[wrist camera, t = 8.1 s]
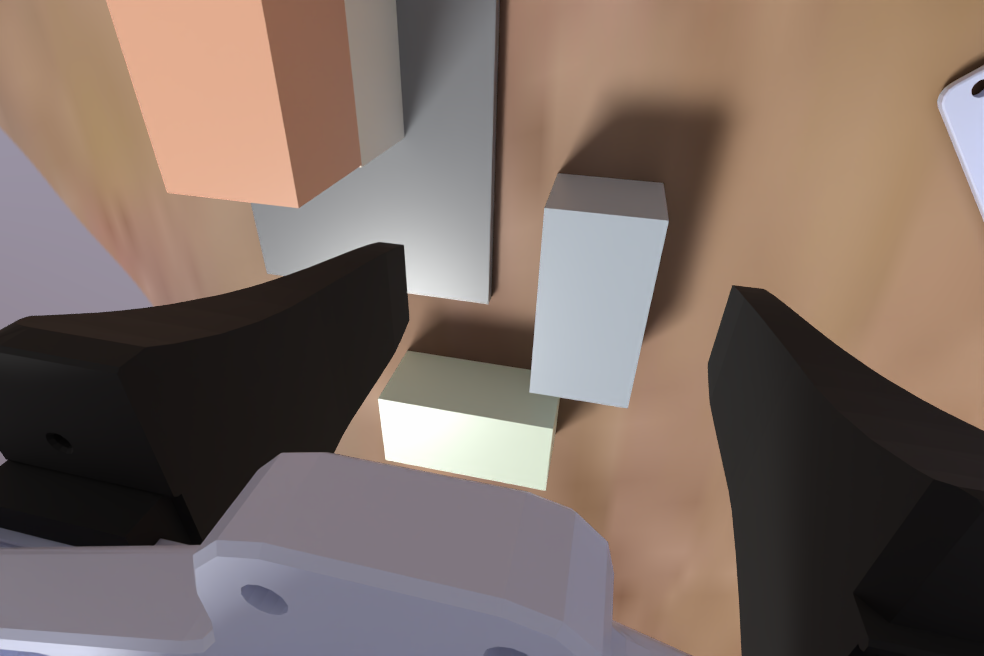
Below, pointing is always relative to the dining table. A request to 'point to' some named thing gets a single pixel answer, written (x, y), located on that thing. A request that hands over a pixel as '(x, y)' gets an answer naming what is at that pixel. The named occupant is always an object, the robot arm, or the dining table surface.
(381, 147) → the cream brick
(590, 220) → the slate brick
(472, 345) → the dining table surface
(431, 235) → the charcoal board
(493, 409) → the sage brick
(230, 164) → the terracotta brick
